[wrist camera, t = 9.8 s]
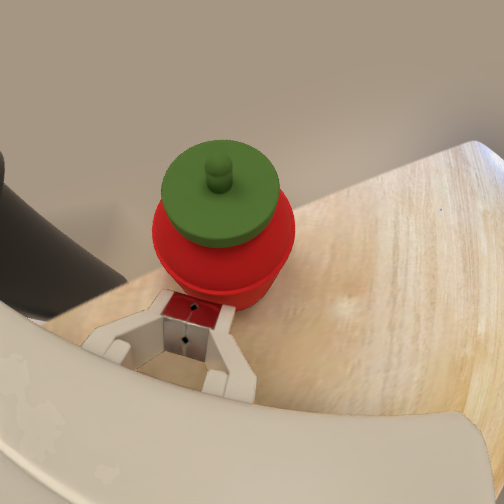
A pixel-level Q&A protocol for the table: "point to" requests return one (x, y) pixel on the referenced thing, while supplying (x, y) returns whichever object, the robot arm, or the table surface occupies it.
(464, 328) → the table surface
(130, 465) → the robot arm
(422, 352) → the table surface
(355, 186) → the table surface
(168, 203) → the red green-capped container
